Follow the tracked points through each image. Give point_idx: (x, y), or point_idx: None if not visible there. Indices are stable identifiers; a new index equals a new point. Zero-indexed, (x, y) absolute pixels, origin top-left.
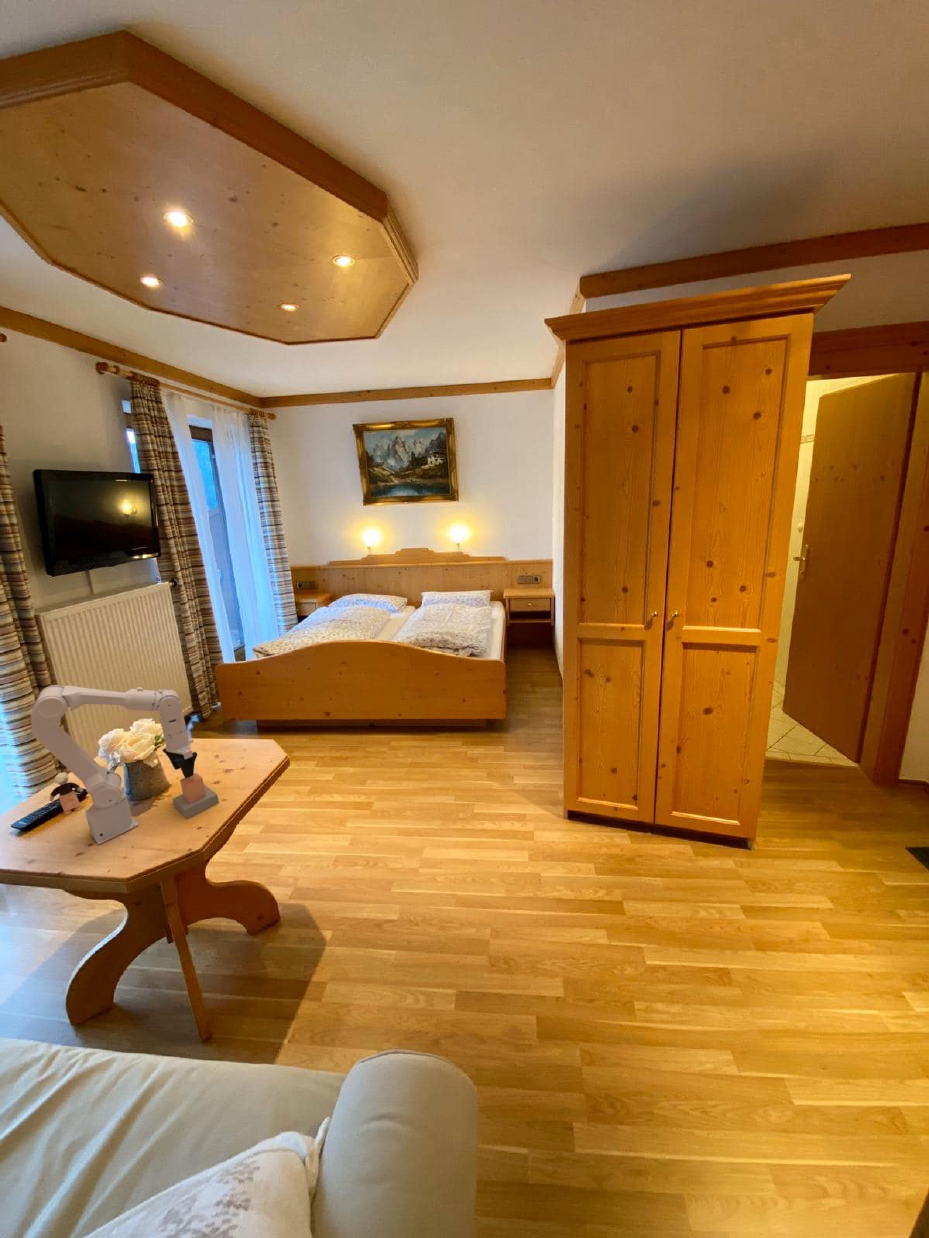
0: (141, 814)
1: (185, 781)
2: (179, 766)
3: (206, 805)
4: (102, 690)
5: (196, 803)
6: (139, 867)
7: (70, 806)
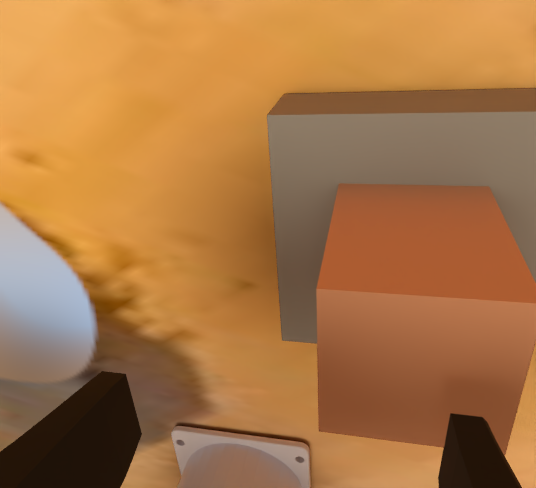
0: (210, 397)
1: (415, 424)
2: (120, 422)
3: None
4: None
5: None
6: None
7: None
